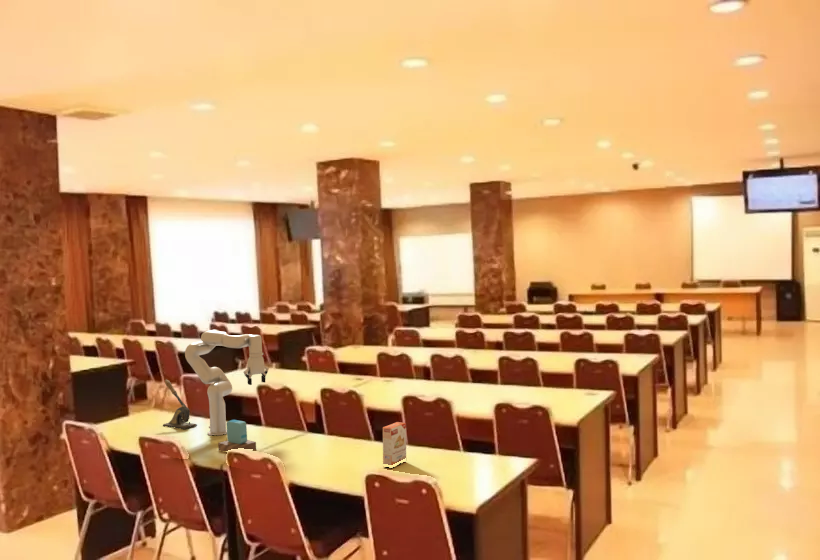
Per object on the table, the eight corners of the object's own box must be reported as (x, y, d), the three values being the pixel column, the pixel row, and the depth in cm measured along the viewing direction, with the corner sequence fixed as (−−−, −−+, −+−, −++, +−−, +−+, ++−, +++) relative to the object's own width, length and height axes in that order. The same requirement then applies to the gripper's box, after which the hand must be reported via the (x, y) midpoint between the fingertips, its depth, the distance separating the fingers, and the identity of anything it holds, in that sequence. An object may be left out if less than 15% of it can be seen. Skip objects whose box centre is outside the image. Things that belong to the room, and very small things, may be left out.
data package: (247, 442, 404) (246, 421, 404) (241, 444, 401) (240, 423, 400) (233, 439, 412) (232, 419, 411) (227, 441, 408) (226, 421, 407)
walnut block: (218, 451, 406) (218, 442, 406) (239, 446, 417) (238, 437, 417) (235, 456, 396) (235, 447, 396) (256, 450, 406) (255, 441, 406)
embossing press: (183, 430, 457) (181, 383, 456) (161, 425, 471) (159, 380, 470) (197, 426, 466) (196, 380, 464) (175, 422, 479) (173, 377, 478)
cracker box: (392, 469, 362) (391, 428, 361) (382, 467, 365) (381, 427, 364) (407, 462, 374) (406, 422, 373) (397, 460, 377) (396, 421, 376)
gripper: (264, 353, 443) (265, 380, 444) (240, 356, 431) (240, 384, 432) (271, 354, 438) (272, 382, 439) (246, 357, 426) (247, 386, 426)
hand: (256, 383), depth 435 cm, fingers open, 9 cm apart
